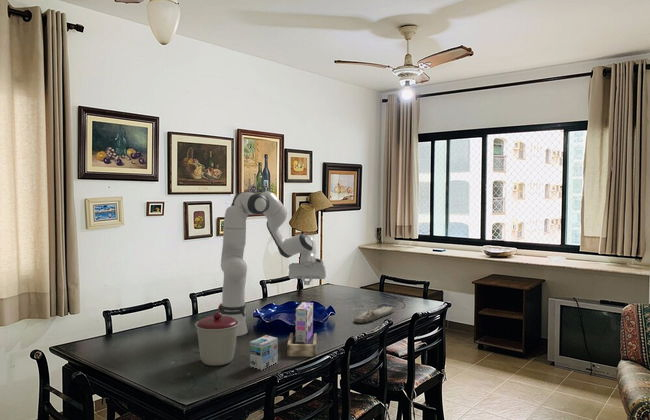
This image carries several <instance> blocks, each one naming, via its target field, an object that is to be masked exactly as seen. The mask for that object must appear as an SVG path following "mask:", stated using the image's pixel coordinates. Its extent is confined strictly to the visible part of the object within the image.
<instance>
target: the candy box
mask: <svg viewBox="0 0 650 420" xmlns="http://www.w3.org/2000/svg"><path fill="white" fill-rule="evenodd" d="M294 315H295V319H294V328H295V329H294V342H295V344H308V342H309V341H310V339H311V338H312V337H313V336H314V333H313V332H314V302H305V301H304V302H303V301H302V302H301V303H300V304H299V305H298V306H296V308H295V313H294Z"/></svg>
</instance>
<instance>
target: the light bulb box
mask: <svg viewBox="0 0 650 420" xmlns="http://www.w3.org/2000/svg"><path fill="white" fill-rule="evenodd" d="M278 341H279V339H278V337H275V336H271V335H267V334H265V335H263V336H261V337H259V338H256V339H254V340H250V341H249V367H250V366H251V367H250V368H252V367H254V368H253V369H255V368H257V369H256V370H259V369H260V371H263V369H264V370H266V369H268V368H270V367H272V366H273V364H274V365H276V364H278V349H279V348H278V346H279V344H278V343H279V342H278ZM275 363H276V364H275ZM271 365H272V366H271ZM269 366H270V367H269ZM267 367H268V368H267ZM265 368H266V369H265Z"/></svg>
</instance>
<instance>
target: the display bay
mask: <svg viewBox="0 0 650 420" xmlns="http://www.w3.org/2000/svg"><path fill="white" fill-rule="evenodd" d="M317 338H318V337H317V332H316V333H313V341H312V342H313V343H312V344H310V343H294V332H290V333H289V337H288V341H287V344H286V345H287V347H286V348H287V349H286V350H287V351H286V354H287V355H286V356H287V357H311V358H312V357H316V355H317V346H318V344H317V341H318V340H317Z"/></svg>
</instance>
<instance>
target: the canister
mask: <svg viewBox="0 0 650 420" xmlns="http://www.w3.org/2000/svg"><path fill="white" fill-rule="evenodd" d="M238 325H239V321H238V320H237V319H235V318H233V317H230V316H222V314H221V313H220V312H219V311H215V312H214V313H213V315H212V316H206V317H203V318H201V319H199V320H198V321H196V322H195V324H194V326H195V328H196V332H197V341H198V348H199V355H200V359H201V361H202V363H203V364H204V365H207V366H212V367H213V366H214V367H215V366H216V367H218V366H224V365H227V364H229V363H230V362H232V360H233V359H234V358H235V357H234V356H235V353H236V352H235V351H236V345H237V337H238V336H237V328H238Z"/></svg>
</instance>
